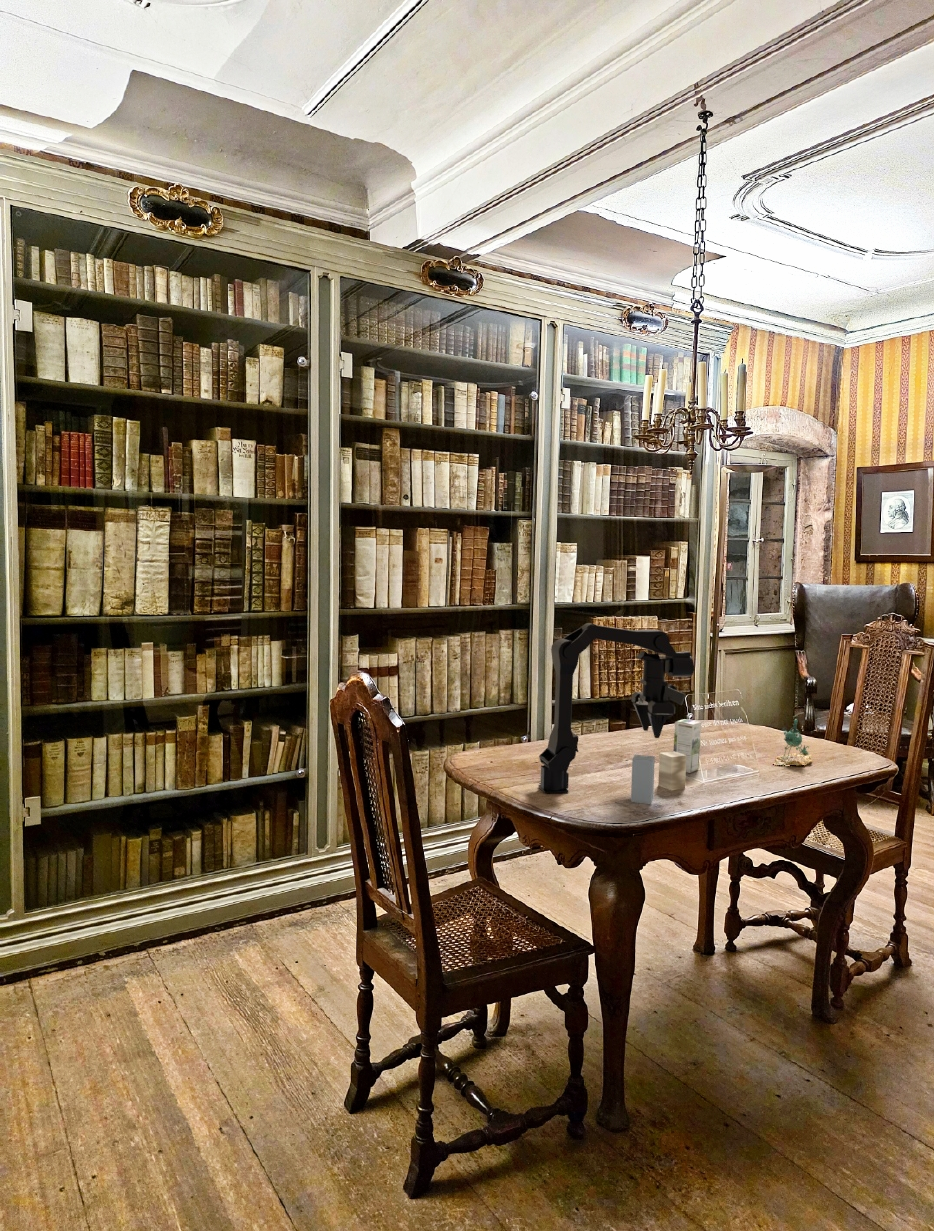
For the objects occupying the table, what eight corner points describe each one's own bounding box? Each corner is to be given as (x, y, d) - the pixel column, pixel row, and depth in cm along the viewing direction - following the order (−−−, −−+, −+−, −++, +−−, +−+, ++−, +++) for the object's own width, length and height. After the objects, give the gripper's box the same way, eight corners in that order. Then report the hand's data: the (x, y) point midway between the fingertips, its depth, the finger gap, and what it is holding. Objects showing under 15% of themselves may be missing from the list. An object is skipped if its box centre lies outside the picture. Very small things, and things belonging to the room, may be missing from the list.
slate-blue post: (630, 801, 205) (632, 758, 204) (633, 796, 209) (634, 754, 209) (651, 804, 203) (652, 760, 202) (653, 798, 208) (654, 756, 207)
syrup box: (680, 766, 241) (682, 718, 240) (699, 770, 237) (701, 721, 236) (672, 770, 237) (674, 721, 236) (691, 773, 233) (693, 723, 232)
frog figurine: (828, 764, 248) (828, 717, 246) (786, 776, 240) (785, 728, 238) (803, 756, 257) (802, 711, 255) (761, 768, 249) (760, 721, 247)
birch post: (670, 790, 216) (671, 757, 215) (658, 785, 220) (659, 752, 219) (685, 788, 218) (686, 755, 217) (672, 783, 222) (673, 751, 222)
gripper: (696, 682, 208) (693, 742, 209) (670, 672, 227) (668, 727, 228) (654, 681, 207) (651, 742, 208) (632, 671, 226) (629, 726, 227)
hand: (651, 734), depth 218 cm, fingers open, 9 cm apart
